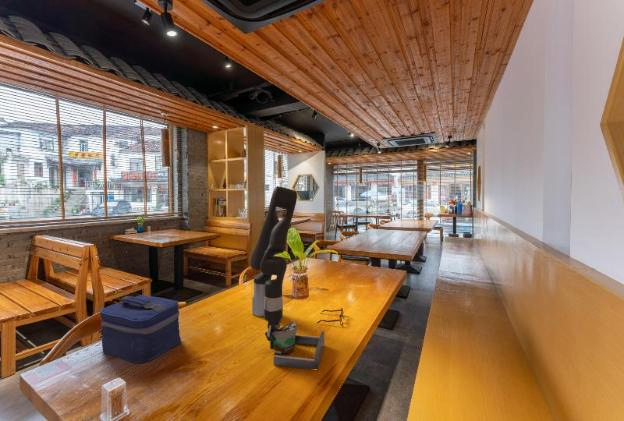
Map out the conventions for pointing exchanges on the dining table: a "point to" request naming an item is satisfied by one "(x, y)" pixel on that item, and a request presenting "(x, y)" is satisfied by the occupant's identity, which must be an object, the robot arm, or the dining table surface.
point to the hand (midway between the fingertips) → (273, 348)
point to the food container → (285, 339)
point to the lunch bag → (140, 328)
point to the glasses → (333, 320)
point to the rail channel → (303, 362)
